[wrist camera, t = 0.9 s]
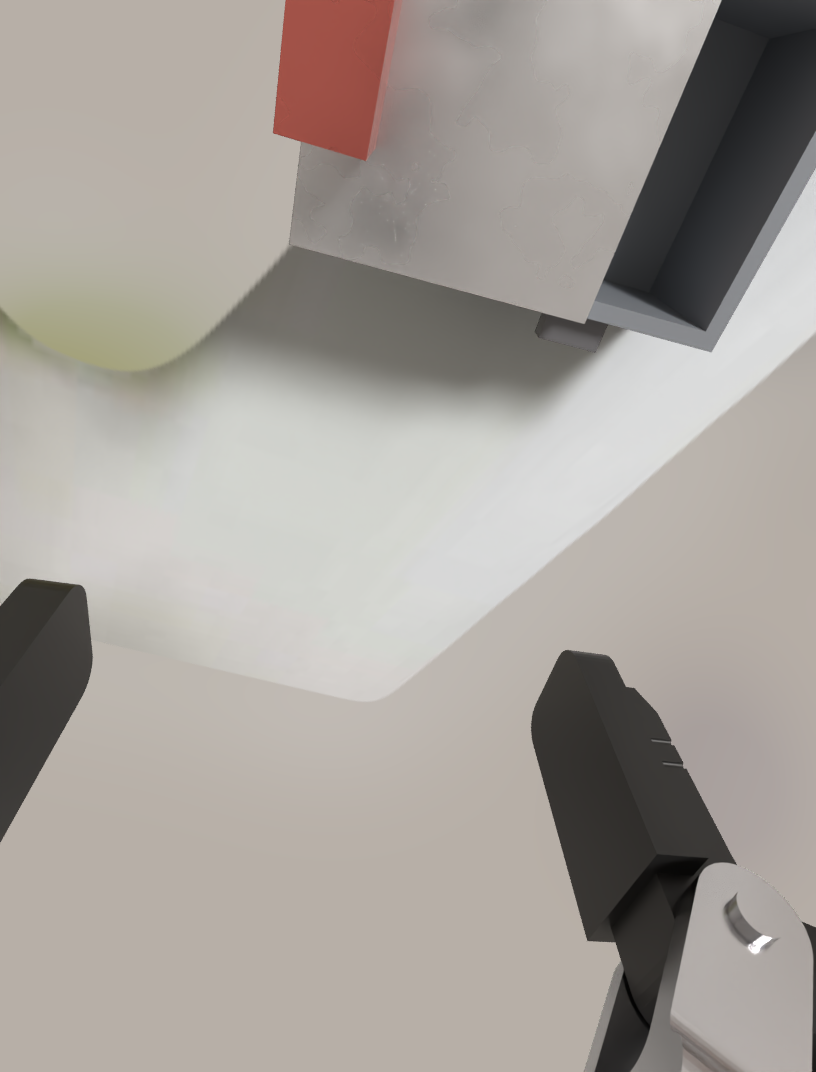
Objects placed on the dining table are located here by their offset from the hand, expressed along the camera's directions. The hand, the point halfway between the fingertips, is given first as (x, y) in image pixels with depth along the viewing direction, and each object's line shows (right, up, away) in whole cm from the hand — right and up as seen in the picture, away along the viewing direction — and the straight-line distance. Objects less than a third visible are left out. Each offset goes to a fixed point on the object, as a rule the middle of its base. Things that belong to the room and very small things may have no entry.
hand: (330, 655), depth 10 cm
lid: (+4, +18, +12) cm, 22 cm away
